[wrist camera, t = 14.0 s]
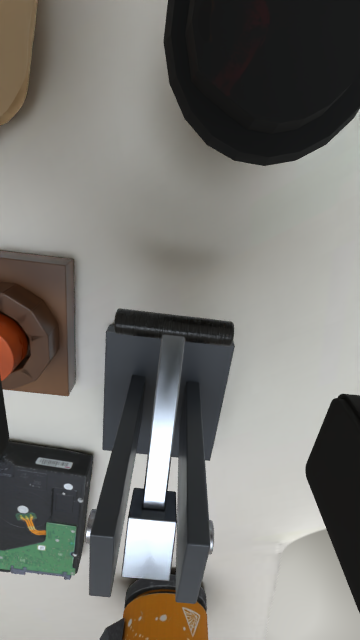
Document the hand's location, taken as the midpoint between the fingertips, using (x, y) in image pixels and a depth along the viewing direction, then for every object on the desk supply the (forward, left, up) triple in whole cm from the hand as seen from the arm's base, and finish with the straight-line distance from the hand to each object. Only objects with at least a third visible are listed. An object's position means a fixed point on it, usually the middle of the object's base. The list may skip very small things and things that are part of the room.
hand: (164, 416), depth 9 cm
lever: (+6, 0, -6) cm, 8 cm away
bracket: (+10, 0, -14) cm, 17 cm away
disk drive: (+24, -11, -14) cm, 30 cm away
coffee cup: (-10, +2, -14) cm, 18 cm away
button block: (+5, -11, -14) cm, 18 cm away
